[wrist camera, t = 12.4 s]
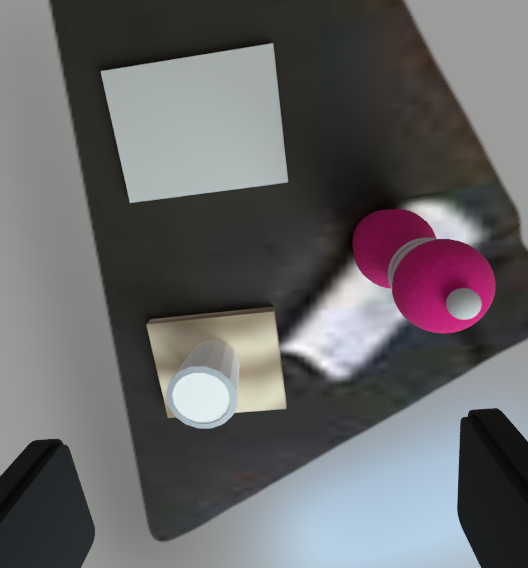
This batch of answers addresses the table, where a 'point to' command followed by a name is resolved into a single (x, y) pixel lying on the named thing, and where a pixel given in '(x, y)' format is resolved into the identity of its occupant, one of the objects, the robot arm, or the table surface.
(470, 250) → the pepper mill
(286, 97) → the table surface
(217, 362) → the shot glass
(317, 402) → the table surface
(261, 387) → the birch board
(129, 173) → the grey tile
